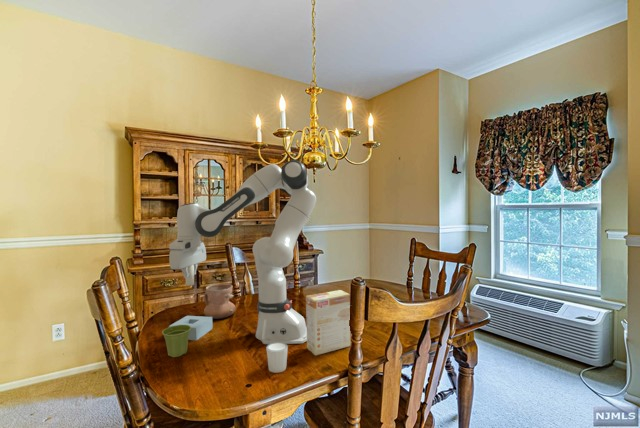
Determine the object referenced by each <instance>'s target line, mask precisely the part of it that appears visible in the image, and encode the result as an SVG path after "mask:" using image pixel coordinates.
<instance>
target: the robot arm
mask: <svg viewBox="0 0 640 428" xmlns="http://www.w3.org/2000/svg"><path fill="white" fill-rule="evenodd" d="M278 189H280V190H281V192H283V193H285V194H287V195H288V196H289V197H290V198H289V199H288V201H287V203H286V205H284V207H283V209H282V210H281V212H280V214H279V215H278V217H277V219H276V220H275V222H274V223H275V225H274V228H273V231H272V233H271V235H270V236H269V237H268V236H265V237H261V238H259V239H257V240H256V241H254V243H253V245H252V254H253V258H254V263H255V269H256V275H257V281H258V300H257V314H258V318H257V319H258V320H257V327H256V331H255V338H256V339H258V340H259V341H260V342H262V344H263V345H269V344H271V343H276V342H282V343H285V344H287V345H290V344H291V345H292V344H304V343H305V342H306V343H307V322H306V318H304V316H302V314H300V313H299V312H297V311H296V309H295V310H294V309H293V308H292V303H293V302H292V301H293V300H292V299H291V300H290V299H288V298H287V279H286V276H285V273H284V270H283V268H286V267H288V266H289V265H290V264H291V263H292V261H293V259H294V249H295V245H296V243H297V241H298V237H299V235H300V233H301V232H302V230H303V228H304V227H305V226H306V223H307V222H308V221H309V218H310V217H311V214H312V213H313V211H314V208H315V206H316V204H317V196H316V194H315V193H314V191H312V190H311V189H309V176H308V171H307V168H306V166H305V165H304V163H302V162H301V161H299V160H297V159H291V160H289V161H287V162H285V163H284V164H283V166H282V168H281V167H280V166H279V165H278V164H275V163H270V164H268V165H266V166H264V167H262V168H260V169H257V171H255V172H254V173H253V174H251V175H250V176H249V177H248V178H247V179H245V181H244V182H243V183H242V184H241V186H240V187H238V190H236V192H235V193H234V194H233V195H232V196H231V197H229V198H228V199H227V200H226V201H224V202H223V203H221V204H220V205H218V206H217V207H216V208H213V209H209V208H206V207H205V206H202V205H201V204H199V203H197V202H190V203H189V202H188V203H184V204H182V205H180V206H179V207H178V209H177V215H176V227H177V237H176V239H174V241H171V243H169V244H168V249H169V250H170V251H169V255H168V256H169V258H168V259H169V262H168V263H169V267H170V269H171V270H180V271H182V272H181V273H182V274H183V275H182V276H183V278H184V279H186V278H187V277H189V273H188V271H187V269H188V266H191V265H194V276H195V275H197V269H198V264H200V263H203V262H206V261H207V249H206V246H205V243H204V242H203V240H202V238H201V237H202V236H203V237H206V238H212V237H215V236H218V234H219V233H220V232H222V230H223V227H224V226H225V224H226V222H228V221H229V220H230V219H231V218H233V217H234V216H235V215H236V214H237V213H238V212H240V211H241V210H243V209H244V208H246V207H248V206H250V205H253V204H256V203H258V202H261V201H262V200H263V199H265V198H267V197H268V196H270V194H271V193H273V192H275V191H276V190H278Z"/></svg>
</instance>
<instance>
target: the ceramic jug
mask: <svg viewBox="0 0 640 428" xmlns="http://www.w3.org/2000/svg"><path fill="white" fill-rule="evenodd" d="M232 292H233V285H232V284H230V283H229V284H227V283H225V284H224V283H216V284H209V285H207V286H206V287H205V292H204V302H205V305H206V306H205V307H204V309H203V314H204V317H212V320H220V319H224V318H227V317H231V316H232V315H233V314H234V313H235V312H236V309H237V307H236V305H235V304H234V303H233V302H231V301H230V299H232V298H233V297H234V294H232Z"/></svg>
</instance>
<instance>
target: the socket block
mask: <svg viewBox="0 0 640 428" xmlns="http://www.w3.org/2000/svg"><path fill="white" fill-rule="evenodd" d="M176 325H189V326H191V330H190V333H189V336H188V341H198V340H199V339H200V338H202V337H203V336H205V335H206V334H207V333H209V332H210V331H212V330H213V326H214V325H213V319H212V317H207V316H200V315H197V316H196V315H186V316H184V317H182V318H181V319H179V320H177V321H175V322H174V323H172V324H170V325H168V327H171V326H176Z"/></svg>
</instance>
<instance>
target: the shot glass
mask: <svg viewBox="0 0 640 428" xmlns="http://www.w3.org/2000/svg"><path fill="white" fill-rule="evenodd" d="M288 349H289V347H288V344H285V343H282V342H276V343H271V344H267V345H266V356H267V357H266V358H267V367H268V371H269V372H271V373H275V374H276V373H282V372H284V371H286V369H287V364H288V363H287V362H288V361H287V360H288Z"/></svg>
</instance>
